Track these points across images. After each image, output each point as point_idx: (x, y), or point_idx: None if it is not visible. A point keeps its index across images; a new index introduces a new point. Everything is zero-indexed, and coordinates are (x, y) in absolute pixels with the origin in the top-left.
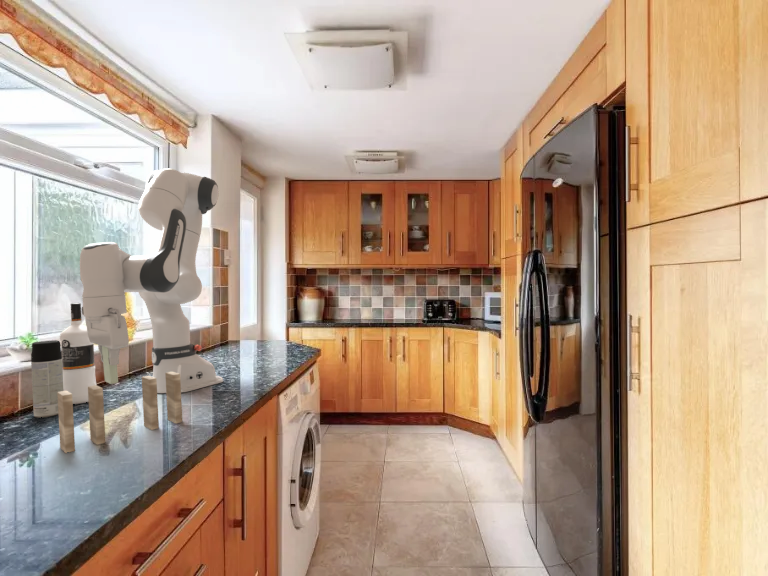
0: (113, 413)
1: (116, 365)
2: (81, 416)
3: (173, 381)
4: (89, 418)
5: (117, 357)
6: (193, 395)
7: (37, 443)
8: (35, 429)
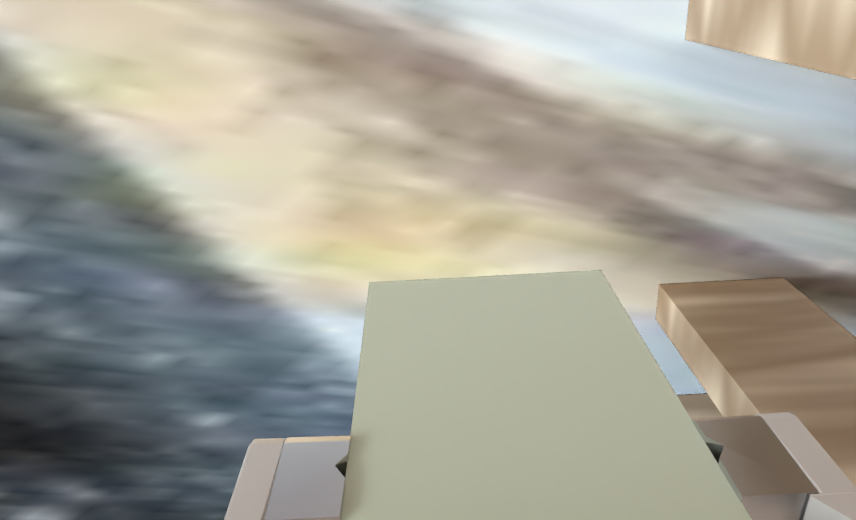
0: (156, 111)
1: (672, 397)
2: (79, 276)
3: None
4: (703, 387)
5: (851, 500)
6: None
7: None
8: (199, 468)
